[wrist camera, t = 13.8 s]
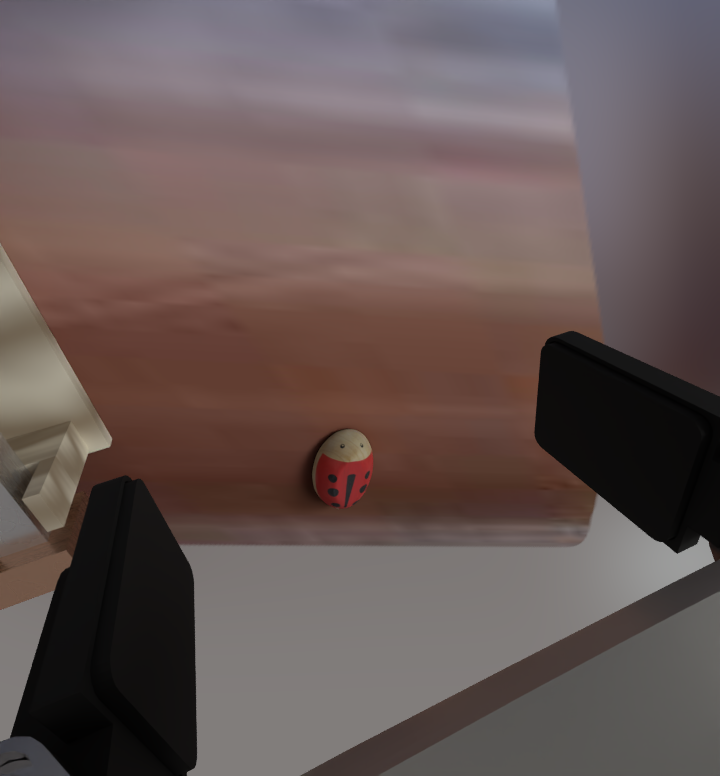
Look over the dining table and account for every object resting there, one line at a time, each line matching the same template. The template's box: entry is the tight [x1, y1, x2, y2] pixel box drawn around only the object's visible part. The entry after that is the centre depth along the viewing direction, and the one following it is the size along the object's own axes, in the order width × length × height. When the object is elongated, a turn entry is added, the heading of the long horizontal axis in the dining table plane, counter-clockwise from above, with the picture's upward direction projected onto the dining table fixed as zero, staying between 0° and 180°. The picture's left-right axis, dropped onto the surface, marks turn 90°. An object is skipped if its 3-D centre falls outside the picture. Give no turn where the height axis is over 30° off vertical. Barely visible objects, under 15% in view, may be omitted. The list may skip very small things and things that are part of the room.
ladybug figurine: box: [312, 429, 373, 509], centre depth 46 cm, size 7×10×4 cm
